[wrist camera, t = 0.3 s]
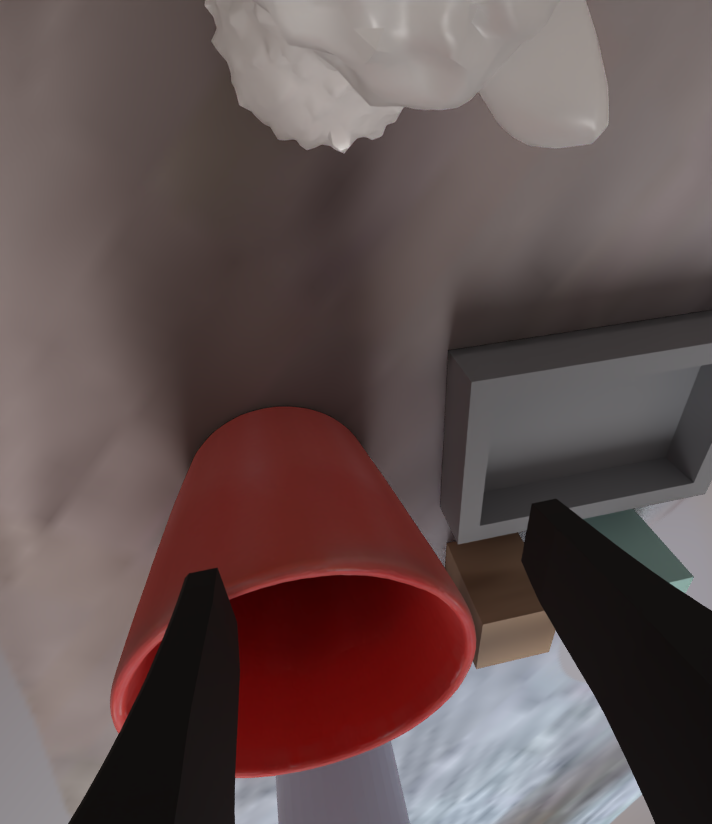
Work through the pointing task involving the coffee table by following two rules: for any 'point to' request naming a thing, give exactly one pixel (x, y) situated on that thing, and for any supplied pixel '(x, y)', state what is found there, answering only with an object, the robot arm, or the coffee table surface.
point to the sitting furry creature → (414, 65)
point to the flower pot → (307, 593)
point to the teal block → (642, 545)
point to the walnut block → (499, 599)
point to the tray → (577, 423)
